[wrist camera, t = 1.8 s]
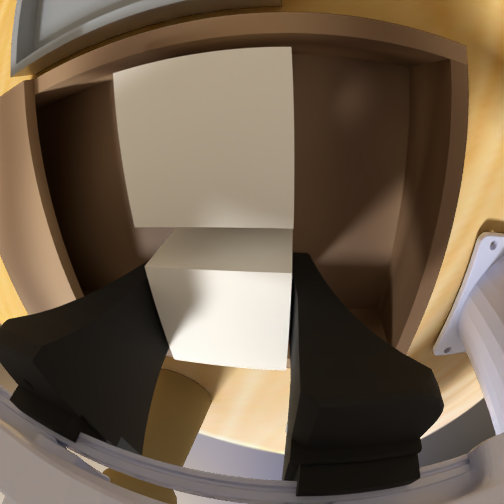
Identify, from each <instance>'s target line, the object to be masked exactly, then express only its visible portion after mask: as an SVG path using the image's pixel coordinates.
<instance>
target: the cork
mask: <svg viewBox="0 0 504 504" xmlns="http://www.w3.org/2000/svg"><path fill="white" fill-rule="evenodd" d="M211 402H212V400H211V397H210V395H209V393H208V392H207V391H206V390H205V389H204V388H203V387H202V386H200V385H199V384H198V383H196V382H195V381H193V380H191V379H189V378H187V377H185V376H183V375H181V374H178V373H175V372H172V371H170V370H165V369H161V370H160V373H159V376H158V380H157V383H156V386H155V390H154V394H153V398H152V402H151V406H150V411H149V415H148V420H147V425H146V431H145V438H144V445H143V454H142V456H144V457H147V458H151V459H154V460H157V461H161V462H165V463H168V464H172V465H176V466H180V467H183V465H184V462H185V460H186V458H187V456H188V454H189V452H190V449H191V447H192V445H193V443H194V441H195V438H196V436H197V434H198V432H199V429H200V427H201V425H202V423H203V420H204V418H205V416H206V414H207V411H208V409H209V407H210V404H211ZM103 474H105V475H106V476H108V477H109V478H110V479H111V480H110V482H111V483H113V484H116V485H118V486H120V487H123V488H125V489H128V490H130V491H133V492H136V493H138V494H141V495H144V496H147V497H149V498H152V499H155V500H158V501H161V502H165V503H168V504H177V498H176V495H175V493H174V491H173V489H169V488H165V487H162V486H158V485H155V484H152V483H149V482H146V481H143V480H140V479H137V478H134V477H131V476H129V475H126V474H123V473H121V472H118V471H116V470H113V469H111V468H108V469H106V470H105V471H104V472H103Z"/></svg>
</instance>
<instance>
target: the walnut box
mask: <svg viewBox="0 0 504 504" xmlns="http://www.w3.org/2000/svg"><path fill="white" fill-rule="evenodd" d="M257 47H291V49H292V71H293V101H294V228H293V239H292V252H298V253H308V254H309V255H310V256H311V258H312V260H313V262H314V264H315V265H316V267H317V269H318V270H319V272H320V274H321V275H322V277H323V278H324V279H325V281H326V282H327V284H328V285H329V287H330V288H331V289H332V291H333V292H334V293H335V294H336V296H337V297H338V298H339V299H340V301H341V302H342V303H343V304H344V305H345V306H346V307H347V309H348V310H349V311H350V312H351V313H352V314H353V315H354V316H355V317H356V318H357V319H358V320H360V321H361V322H362V323H363V324H364V325H365V326H366V327H368V328H369V329H370V330H371V331H372V332H374V333H375V334H376V335H377V336H379V337H380V338H381V339H383V340H384V341H385V342H387V343H388V344H390V345H391V346H393V347H394V348H396V349H397V350H399V351H400V352H402V353H403V354H405V355H406V353H407V351H408V349H409V347H410V345H411V343H412V340H413V338H414V336H415V334H416V332H417V329H418V327H419V325H420V322H421V320H422V317H423V315H424V313H425V310H426V308H427V305H428V302H429V300H430V297H431V294H432V292H433V289H434V286H435V283H436V280H437V277H438V274H439V271H440V268H441V265H442V262H443V259H444V255H445V252H446V248H447V245H448V241H449V237H450V233H451V229H452V225H453V221H454V217H455V212H456V208H457V203H458V198H459V192H460V187H461V181H462V174H463V167H464V159H465V151H466V140H467V127H468V99H469V91H468V64H467V51H466V46H465V45H463V44H460V43H458V42H455V41H452V40H449V39H447V38H444V37H441V36H438V35H435V34H431V33H428V32H425V31H421V30H418V29H414V28H410V27H406V26H402V25H398V24H394V23H389V22H384V21H379V20H374V19H368V18H361V17H354V16H346V15H337V14H326V13H310V12H264V13H248V14H237V15H227V16H219V17H212V18H206V19H200V20H194V21H189V22H184V23H179V24H175V25H170V26H166V27H162V28H158V29H154V30H151V31H147V32H144V33H140V34H137V35H134V36H131V37H127V38H124V39H121V40H119V41H116V42H113V43H110V44H108V45H105V46H102V47H100V48H97V49H95V50H92V51H90V52H88V53H85V54H83V55H81V56H78V57H76V58H74V59H72V60H70V61H68V62H66V63H64V64H62V65H60V66H58V67H56V68H54V69H52V70H50V71H48V72H46V73H44V74H43V75H41V76H39V77H37V78H36V79H33V80H25V81H23V82H21V83H19V84H18V85H16V86H15V87H13V88H12V89H10V90H9V91H8V92H6V93H5V94H3V95H2V96H1V97H0V255H1V258H2V260H3V263H4V265H5V268H6V270H7V272H8V274H9V277H10V279H11V281H12V283H13V285H14V287H15V290H16V292H17V294H18V296H19V298H20V300H21V302H22V304H23V305H24V307H25V309H26V311H27V313H28V315H32V314H36V313H40V312H43V311H46V310H50V309H53V308H56V307H59V306H62V305H64V304H67V303H69V302H72V301H74V300H77V299H79V298H82V297H84V296H86V295H88V294H90V293H93V292H95V291H97V290H99V289H101V288H103V287H104V286H106V285H108V284H110V283H112V282H113V281H115V280H117V279H118V278H120V277H122V276H124V275H125V274H127V273H129V272H130V271H132V270H134V269H135V268H137V267H138V266H140V265H142V264H143V263H145V262H146V261H148V260H150V259H151V258H152V256H153V255H154V254H155V253H156V251H157V250H158V249H159V248H160V246H161V245H162V244H163V243H164V241H165V240H166V239H167V238H168V237H169V235H170V234H171V233H172V232H173V231H174V229H175V228H176V227H135V226H134V222H133V217H132V212H131V208H130V203H129V198H128V192H127V187H126V181H125V176H124V170H123V163H122V157H121V150H120V143H119V135H118V127H117V118H116V108H115V96H114V82H113V73H116V72H119V71H123V70H126V69H129V68H133V67H137V66H140V65H144V64H148V63H152V62H157V61H161V60H166V59H170V58H175V57H181V56H186V55H192V54H198V53H205V52H213V51H221V50H230V49H242V48H257ZM166 356H170V357H173V355H172V352H171V349H170V347H169V350H168V352H167V354H166ZM286 368H291V365H290V346H289V338H288V352H287V365H286Z"/></svg>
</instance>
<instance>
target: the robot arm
mask: <svg viewBox="0 0 504 504" xmlns="http://www.w3.org/2000/svg"><path fill="white" fill-rule="evenodd" d="M492 242H493V243H492ZM491 243H492V245H491ZM148 261H149V260H148ZM148 261H146V262H145V263H143V264H142V265H140V266H138V267H137V268H135V269H134V270H132V271H130V272H129V273H127V274H125V275H124V276H122V277H120V278H118V279H117V280H115V281H113V282H112V283H110V284H108V285H106V286H104V287H103V288H101V289H99V290H97V291H95V292H93V293H90V294H88V295H86V296H84V297H82V298H79V299H77V300H74V301H72V302H69V303H67V304H64V305H62V306H59V307H56V308H53V309H50V310H46V311H43V312H40V313H36V314H32V315H27V316H22V317H17V318H12V319H8V320H7V321H6V322H4V323H3V325H2V326H1V327H0V363H1V364H2V365H3V367H4V368H5V369H6V370H7V371H8V373H9V374H10V375H11V377H12V378H13V379H14V380H15V381H16V383H17V384H18V387H17V388H16V390H15V391H14V393H11V392H10V391H8V390H7V389H5V388H4V387H3V386H1V385H0V491H1V492H2V493H3V494H4V495H5V498H4V500H3V503H2V504H168V503H165V502H161V501H158V500H155V499H152V498H149V497H147V496H144V495H141V494H138V493H136V492H133V491H130V490H128V489H125V488H123V487H120V486H118V485H116V484H113V483H111V482H110V480H111V479H110V478H109V477H108V476H106V475H105V474H103V473H101V472H100V471H98V470H96V469H95V468H93V467H91V466H90V465H88V464H87V463H86V462H84V461H83V460H82V459H80V458H79V457H78V456H77V455H75V454H73V453H71V452H70V451H68V450H67V448H69V449H71V450H73V451H74V452H76V453H78V454H80V455H82V456H84V457H86V458H88V459H91V460H93V461H95V462H97V463H99V464H102V465H104V466H106V467H109V468H111V469H113V470H116V471H118V472H121V473H123V474H126V475H129V476H131V477H134V478H137V479H140V480H143V481H146V482H149V483H152V484H155V485H158V486H162V487H165V488H169V489H173V490H176V491H180V492H185V493H189V494H193V495H198V496H202V497H207V498H213V499H218V500H225V501H231V502H239V503H248V504H504V233H494V232H483V233H482V234H480V236H479V237H478V239H477V241H476V244H475V248H474V251H473V254H472V257H471V260H470V263H469V266H468V269H467V272H466V274H465V277H464V280H463V282H462V285H461V288H460V290H459V293H458V295H457V297H456V300H455V302H454V305H453V307H452V309H451V311H450V314H449V316H448V318H447V320H446V322H445V324H444V327H443V329H442V331H441V333H440V335H439V337H438V339H437V341H436V342H435V344H434V346H433V349H432V350H433V353H434V355H435V356H441V355H449V354H456V353H462V352H466V353H467V355H468V358H469V360H470V362H471V365H472V367H473V369H474V372H475V374H476V377H477V379H478V382H479V384H480V387H481V390H482V392H483V395H484V398H485V400H486V403H487V406H488V409H489V412H490V416H491V419H492V422H493V425H494V429H495V432H496V436H494V437H492V438H489V439H488V440H485V441H484V442H482V443H480V444H479V445H477V446H476V447H475V448H473V449H472V450H471V451H470V452H469V453H468V454H465V455H462V456H459V457H456V458H453V459H450V460H447V461H444V462H440V463H437V464H433V465H429V466H425V467H421V468H419V462H418V454H417V453H419V452H420V451H421V449H422V445H421V440H420V437H421V436H422V435H423V434H424V433H425V432H426V431H427V430H428V429H429V428H430V427H431V426H432V425H433V424H434V423H435V422H436V421H437V419H438V418H439V417H440V415H441V414H442V412H443V408H444V403H443V400H442V396H441V393H440V389H439V386H438V383H437V381H436V379H435V376H434V374H433V372H432V369H430V368H428V367H426V366H425V365H423V364H421V363H419V362H417V361H416V360H414V359H412V358H410V357H408V356H407V355H405V354H403V353H402V352H400V351H399V350H397V349H396V348H394V347H393V346H391V345H390V344H388V343H387V342H385V341H384V340H383V339H381V338H380V337H379V336H377V335H376V334H375V333H374V332H372V331H371V330H370V329H369V328H368V327H366V326H365V325H364V324H363V323H362V322H361V321H360V320H358V319H357V318H356V317H355V316H354V315H353V314H352V313H351V312H350V311H349V310H348V309H347V307H346V306H345V305H344V304H343V303H342V302H341V301H340V299H339V298H338V297H337V296H336V294H335V293H334V292H333V291H332V289H331V288H330V287H329V285H328V284H327V282H326V281H325V279H324V278H323V277H322V275H321V274H320V272H319V270H318V269H317V267H316V265H315V264H314V262H313V260H312V258H311V256H310V255H309V254H308V253H298V252H292V284H291V304H290V322H289V346H290V365H291V384H290V399H289V412H288V425H287V436H286V446H285V456H284V465H283V474H282V481H279V480H278V481H277V480H262V479H252V478H242V477H234V476H227V475H221V474H215V473H209V472H204V471H198V470H194V469H189V468H185V467H180V466H176V465H172V464H168V463H165V462H161V461H157V460H154V459H151V458H147V457H144V456H142V454H143V445H144V438H145V431H146V425H147V420H148V415H149V411H150V406H151V402H152V398H153V394H154V390H155V386H156V383H157V380H158V376H159V373H160V370H161V366H162V364H163V361H164V359H165V356H166V354H167V352H168V350H169V344H168V341H167V338H166V335H165V332H164V329H163V327H162V324H161V320H160V317H159V314H158V311H157V308H156V305H155V302H154V298H153V295H152V292H151V288H150V285H149V281H148V278H147V274H146V270H145V265H146V264H147V263H148ZM66 447H67V448H66Z"/></svg>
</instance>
